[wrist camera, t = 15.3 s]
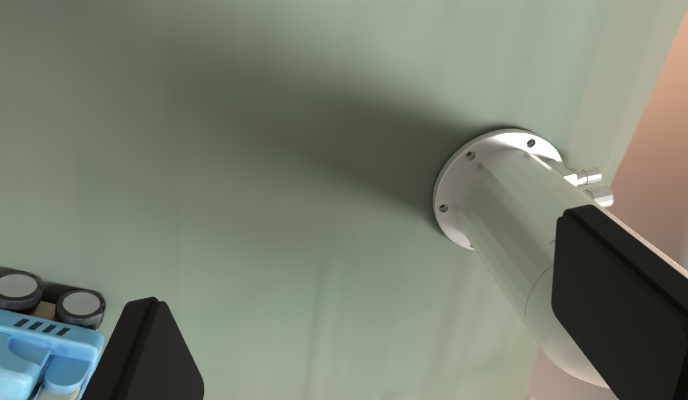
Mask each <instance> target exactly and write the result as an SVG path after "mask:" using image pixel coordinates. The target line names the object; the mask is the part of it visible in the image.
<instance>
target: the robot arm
mask: <svg viewBox="0 0 688 400" xmlns="http://www.w3.org/2000/svg"><path fill="white" fill-rule="evenodd" d="M468 152H469V154H467V153H468ZM466 154H467V155H466ZM601 178H602V177H601V172H600V170H599V169H598V168H597V167H593V168H588V169H583V170H581V171H577V172H573V171H571V170H568V169H567V168H566V167H564V164H563V161H562V158H561V156H560V155H559V153H558V151H557V150H556V149H555V148H554V147H553V146H552V145H551V144H550V143H549V142H548V141H547V140H545V139H544V138H542V137H540V136H539V135H537V134H534V133H532V132H530V131H526V130H520V129H501V130H496V131H491V132H488V133H486V134H483V135H481V136H478V137H476V138H474V139H473V140H471V141H469V142H468V143H466V144H465V145H463V146H462V147H461V148H460V149H459V150H457V151H456V152H455V153H454V154H453V155H452V156H451V158H450V159H449V160H448V161H447V162H446V164H445V165H444V167H443V169H442V170H441V172H440V174H439V176H438V178H437V181H436V184H435V186H434V192H433V210H434V214H435V218H436V220H437V222H438V224H439V226H440V228H441V229H442V231H443V232H444V233H445V235H446V236H447V237H448V238H449V239H450V240H451V241H453V242H454V243H456V244H457V245H459V246H461V247H463V248H466V249H469V250H472V251H476V253H477V254H478V256H479V257H480V259H481V260H482V262H483V263H484V265H485V266H486V268H487V269H488V271H489V272H490V274H491V275H492V277H493V278H494V280H495V281H496V283H497V284H498V286H499V287H500V289H501V290H502V292H503V294H504V295H505V297H506V298H507V300H508V301H509V303H510V304H511V306H512V307H513V309H514V310H515V312H516V313H517V315H518V316H519V318H520V319H521V321H522V322H523V324H524V325H525V327H526V328H527V330H528V331H529V333H530V334H531V335H532V337H533V338H534V340H535V341H536V343H537V344H538V346H539V347H540V349H541V350H542V351H543V352H544V353H545V355H546V356H547V357H548V358H549V359H550V360H551V361H552V362H553V363H554V364H556V365H557V366H558V367H560V368H561V369H563V370H564V371H566V372H567V373H569V374H571V375H573V376H575V377H577V378H579V379H581V380H584V381H586V382H589V383H592V384H595V385H598V386H602V387H605V388H609V389H611V390H612V391H613V393H614V394H615V395H616V397H617V398H618V399H617V400H688V271H687V270H685V269H684V268H682V267H681V266H680V265H678V264H677V263H676V262H674V261H673V260H672V259H670V258H669V257H668V256H666V255H665V254H664V253H662V252H661V251H660V250H658V249H657V248H656V247H655V246H653V245H652V244H650V243H649V242H647V241H646V240H645V239H643V238H642V237H641V236H640V235H638V234H637V233H636V232H634V231H633V230H632V229H630V228H629V227H628V226H626V225H625V224H624V223H623V222H621V221H620V220H619V219H617V218H616V217H615V216H614V215H612V214H611V213H609V212H608V211H607V210H606V209H604V207H608V206H611V205H612V203H613V194H612V192H611V190H610V189H609V188H608V187H606V186H602V187H597V188H592V189H588V190H585V191H583V192H582V191H581V190H580V189H579V188H577V187H576V186H578V185H583V184H584V185H587V184H591V183H596V182H599V181H601ZM203 397H204V383H203V379H202V377H201V374H200V372H199V370H198V368H197V366H196V364H195V362H194V360H193V358H192V356H191V353H190V351H189V349H188V347H187V345H186V343H185V341H184V339H183V337H182V334H181V332H180V330H179V328H178V326H177V324H176V322H175V320H174V318H173V316H172V313H171V311H170V309H169V307H168V305H167V304H166V302H164V301H160V302H159V301H158V299H157V298H155V297H149V298H144V299H140V300H135V301H130V302H128V303H127V304H126V305H125V307H124V309H123V311H122V314H121V316H120V318H119V320H118V322H117V324H116V327H115V329H114V331H113V333H112V335H111V337H110V340H109V342H108V344H107V346H106V348H105V350H104V353H103V355H102V357H101V359H100V361H99V363H98V366H97V368H96V370H95V371H94V373H93V375H92V376H91V378H90V380H89V382H88V384H87V387H86V389H85V391H84V393H83V395H82V397H81V399H80V400H203Z"/></svg>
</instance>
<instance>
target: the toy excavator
mask: <svg viewBox="0 0 688 400" xmlns="http://www.w3.org/2000/svg"><path fill="white" fill-rule="evenodd" d="M43 288H44V285H43V283H42V281H41V280H40V279H36V278H35V277H33V276H32V275H31V274H30V273H28V272H19V271H12V272H6V273H3V274H0V400H34V399H35V397H36V395H37V394H38V396H37V398H36V400H78V399H81V397H82V395H83V393H84V391H85V389H86V387H87V384H88V382H89V380H90V378H91V376H92V375H93V373H94V371H95V368H96V365H97V362H98V359H99V356H100V353H101V350H102V347H103V343H104V339H105V338H104V336H103V334H101V333H100V332H98V331H97V329H98V328H99V327H100V325H101V323H102V321H103V317H104V313H105V309H106V303H105V300H104V298H103V297H102V296H101V295H100V294H98V293H96V292H94V291H90V290H80V289H78V290H73V291H70V292H66V293H64V294H63V295H62V296H60V297H59V298H58V301H57V303H56V304H53V303H48V302H44V301H41V297H42V293H43Z"/></svg>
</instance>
